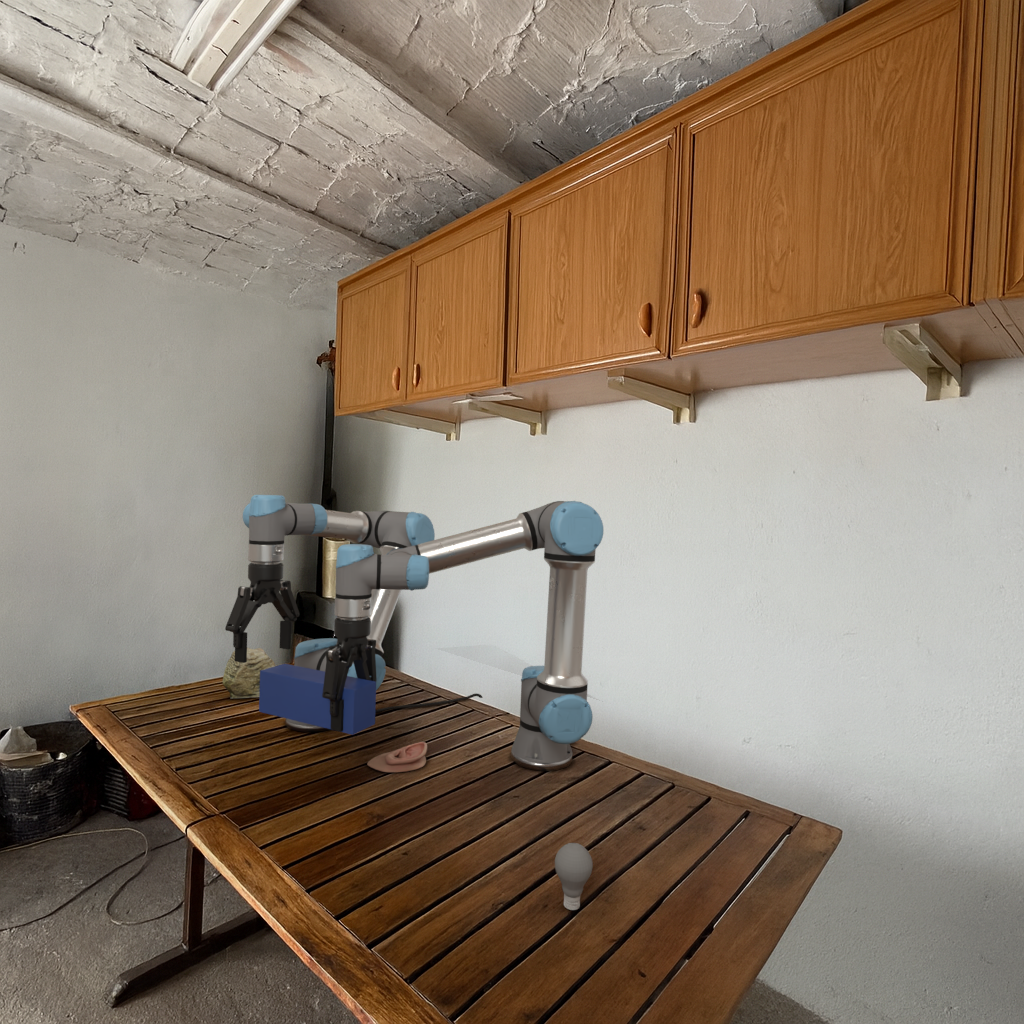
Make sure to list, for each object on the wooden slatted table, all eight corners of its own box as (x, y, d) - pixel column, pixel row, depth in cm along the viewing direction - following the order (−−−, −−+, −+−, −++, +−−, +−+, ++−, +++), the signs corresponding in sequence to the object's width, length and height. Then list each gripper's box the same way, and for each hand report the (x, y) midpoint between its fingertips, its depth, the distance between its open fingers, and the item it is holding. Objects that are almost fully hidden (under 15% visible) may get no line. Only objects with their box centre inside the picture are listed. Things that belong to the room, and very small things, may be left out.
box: (258, 711, 142) (259, 670, 141) (283, 702, 148) (284, 663, 148) (352, 735, 130) (354, 690, 130) (375, 724, 137) (376, 681, 136)
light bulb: (550, 895, 103) (552, 835, 103) (586, 895, 104) (589, 835, 104) (555, 920, 97) (558, 856, 97) (594, 919, 98) (597, 855, 98)
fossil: (218, 695, 195) (220, 647, 195) (278, 685, 208) (279, 640, 207) (228, 703, 189) (230, 653, 188) (289, 692, 201) (290, 645, 201)
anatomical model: (361, 752, 147) (381, 734, 159) (361, 769, 148) (381, 750, 159) (415, 759, 145) (432, 741, 156) (415, 776, 145) (431, 757, 156)
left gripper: (235, 569, 131) (233, 670, 132) (316, 559, 154) (313, 645, 155) (208, 566, 134) (206, 665, 135) (291, 556, 157) (289, 641, 158)
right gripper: (334, 627, 124) (330, 743, 124) (395, 612, 142) (392, 713, 143) (305, 622, 127) (301, 735, 128) (368, 608, 145) (365, 707, 146)
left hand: (263, 655), depth 145 cm, fingers open, 13 cm apart
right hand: (349, 723), depth 135 cm, fingers closed on box, 7 cm apart
